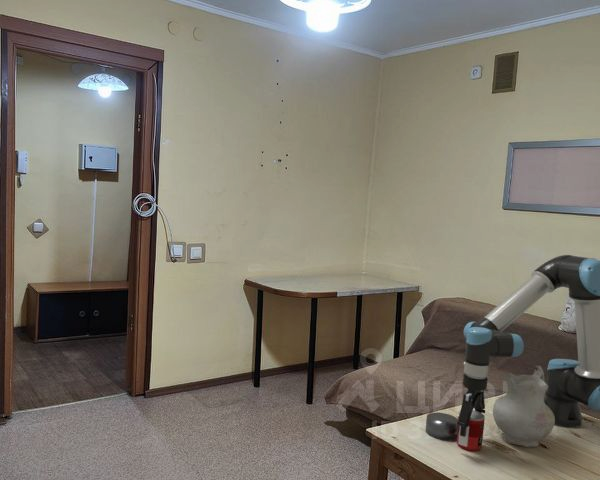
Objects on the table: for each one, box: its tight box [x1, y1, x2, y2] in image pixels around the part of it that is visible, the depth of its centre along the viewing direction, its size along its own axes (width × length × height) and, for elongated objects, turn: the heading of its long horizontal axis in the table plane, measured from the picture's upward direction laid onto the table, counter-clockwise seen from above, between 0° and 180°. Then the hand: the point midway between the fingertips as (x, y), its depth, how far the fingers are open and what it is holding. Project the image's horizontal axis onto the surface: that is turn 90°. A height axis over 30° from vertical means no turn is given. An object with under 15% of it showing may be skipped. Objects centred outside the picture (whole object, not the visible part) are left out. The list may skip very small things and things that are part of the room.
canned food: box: [456, 409, 486, 452], centre depth 170 cm, size 8×8×11 cm
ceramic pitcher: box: [492, 364, 555, 448], centre depth 178 cm, size 22×20×25 cm
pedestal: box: [425, 412, 459, 442], centre depth 179 cm, size 11×11×5 cm
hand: (469, 438), depth 170 cm, fingers open, 13 cm apart
